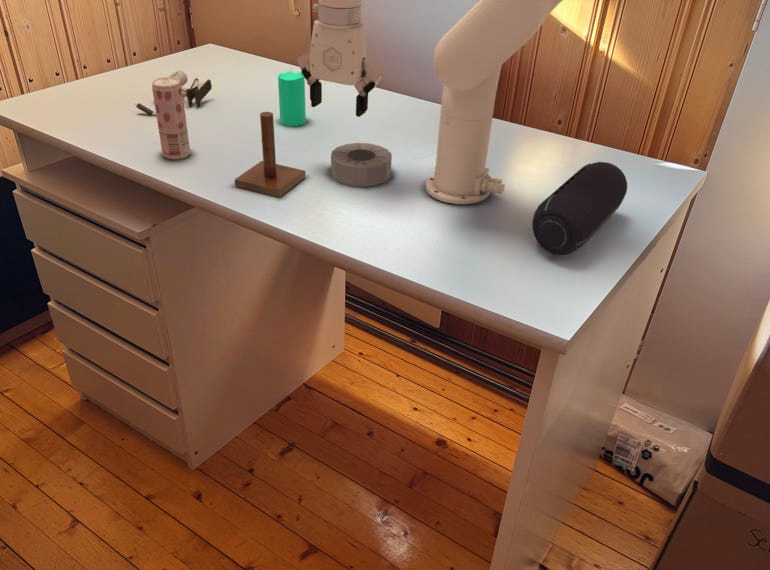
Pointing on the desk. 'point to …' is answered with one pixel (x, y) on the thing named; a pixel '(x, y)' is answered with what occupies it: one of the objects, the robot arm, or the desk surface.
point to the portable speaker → (579, 208)
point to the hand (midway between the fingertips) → (338, 109)
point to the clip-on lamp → (194, 91)
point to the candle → (292, 98)
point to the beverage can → (171, 117)
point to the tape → (361, 164)
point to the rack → (269, 167)
